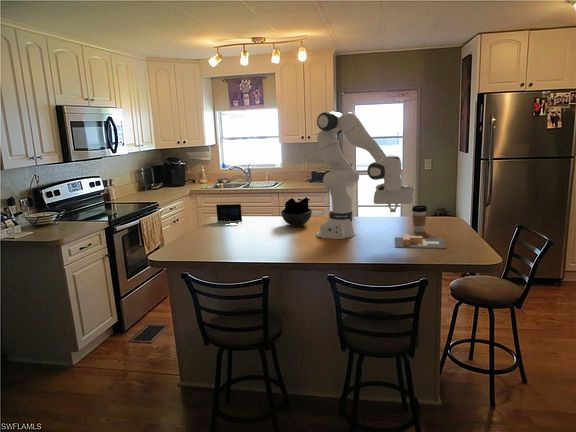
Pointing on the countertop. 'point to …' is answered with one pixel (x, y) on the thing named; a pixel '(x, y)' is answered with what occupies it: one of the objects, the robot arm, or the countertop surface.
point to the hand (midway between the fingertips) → (392, 212)
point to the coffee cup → (419, 217)
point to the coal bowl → (296, 212)
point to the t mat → (425, 243)
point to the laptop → (228, 214)
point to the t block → (411, 239)
